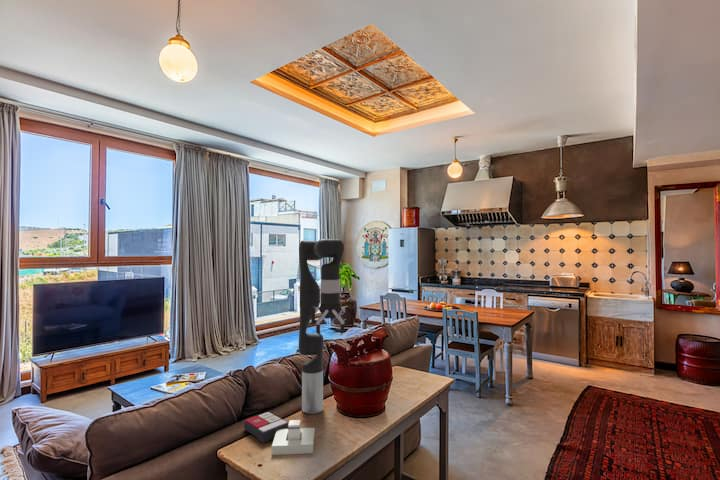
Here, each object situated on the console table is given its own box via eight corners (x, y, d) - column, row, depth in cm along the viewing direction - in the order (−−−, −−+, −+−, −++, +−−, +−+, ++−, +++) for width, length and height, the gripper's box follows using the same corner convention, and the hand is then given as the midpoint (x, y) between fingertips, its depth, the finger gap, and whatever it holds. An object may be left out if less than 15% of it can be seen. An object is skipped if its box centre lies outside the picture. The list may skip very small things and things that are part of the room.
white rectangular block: (289, 442, 132) (289, 420, 132) (300, 442, 132) (300, 419, 132) (288, 448, 128) (288, 425, 128) (299, 448, 128) (299, 425, 128)
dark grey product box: (268, 410, 149) (288, 420, 138) (268, 421, 149) (289, 432, 138) (243, 419, 141) (262, 431, 131) (243, 430, 141) (263, 443, 130)
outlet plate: (276, 437, 135) (276, 429, 136) (314, 435, 137) (314, 427, 137) (271, 455, 123) (271, 446, 124) (312, 453, 125) (312, 444, 125)
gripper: (348, 290, 142) (348, 331, 142) (312, 290, 141) (312, 332, 141) (349, 292, 135) (349, 336, 134) (310, 292, 134) (310, 336, 133)
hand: (330, 334), depth 138 cm, fingers open, 8 cm apart
